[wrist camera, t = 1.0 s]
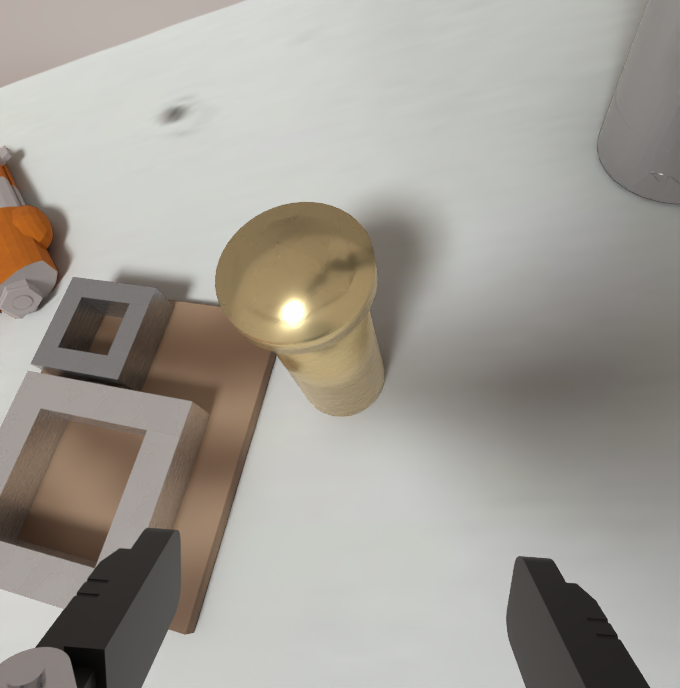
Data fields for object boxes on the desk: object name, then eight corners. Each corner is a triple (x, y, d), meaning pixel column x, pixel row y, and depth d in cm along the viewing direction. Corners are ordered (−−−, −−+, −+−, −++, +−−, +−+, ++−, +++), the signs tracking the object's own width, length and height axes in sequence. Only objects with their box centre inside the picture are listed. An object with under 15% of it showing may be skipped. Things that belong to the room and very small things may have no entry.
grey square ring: (96, 296, 35) (73, 277, 33) (174, 306, 34) (155, 287, 32) (58, 378, 33) (30, 363, 31) (140, 393, 32) (117, 379, 29)
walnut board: (89, 295, 37) (81, 288, 36) (285, 322, 33) (281, 315, 32) (-35, 561, 30) (-50, 561, 29) (193, 632, 26) (185, 634, 25)
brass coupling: (305, 322, 33) (242, 197, 22) (405, 335, 31) (388, 207, 21) (279, 417, 30) (193, 329, 20) (385, 437, 29) (354, 353, 18)
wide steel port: (55, 385, 33) (28, 370, 31) (210, 414, 30) (192, 401, 28) (-29, 567, 29) (-68, 566, 27) (141, 620, 26) (114, 624, 24)
